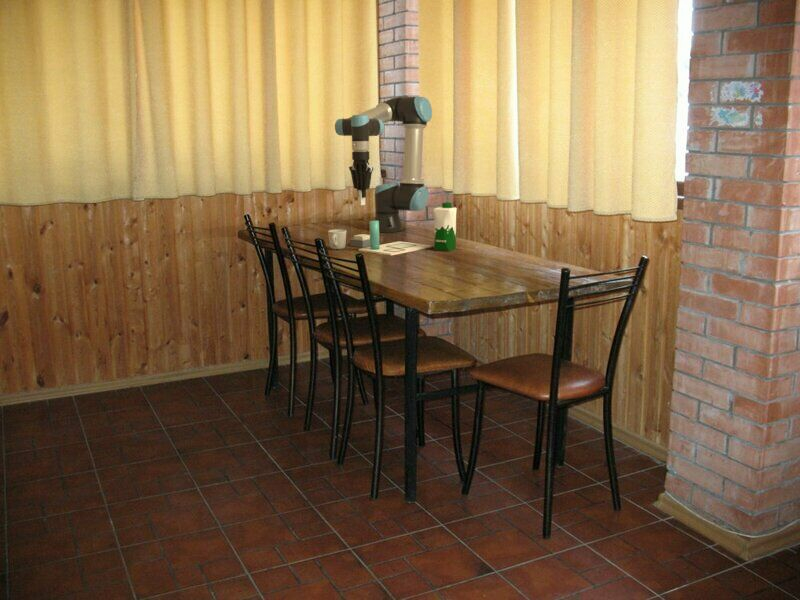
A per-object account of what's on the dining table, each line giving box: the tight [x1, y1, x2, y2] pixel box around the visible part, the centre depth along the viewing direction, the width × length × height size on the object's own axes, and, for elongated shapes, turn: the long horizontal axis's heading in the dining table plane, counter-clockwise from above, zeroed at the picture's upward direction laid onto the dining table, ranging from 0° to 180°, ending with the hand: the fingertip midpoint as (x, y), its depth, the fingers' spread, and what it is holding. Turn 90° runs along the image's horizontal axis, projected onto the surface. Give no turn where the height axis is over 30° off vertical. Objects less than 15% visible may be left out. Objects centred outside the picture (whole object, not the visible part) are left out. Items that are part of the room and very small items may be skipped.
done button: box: [353, 233, 370, 240], centre depth 389 cm, size 5×5×3 cm
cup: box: [327, 228, 347, 250], centre depth 380 cm, size 11×8×8 cm
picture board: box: [358, 241, 432, 256], centre depth 379 cm, size 26×19×1 cm
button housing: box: [349, 237, 370, 248], centre depth 389 cm, size 8×8×3 cm
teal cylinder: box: [369, 220, 380, 250], centre depth 374 cm, size 4×4×12 cm
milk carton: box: [433, 201, 458, 252], centre depth 374 cm, size 9×9×20 cm
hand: (362, 204), depth 385 cm, fingers closed
